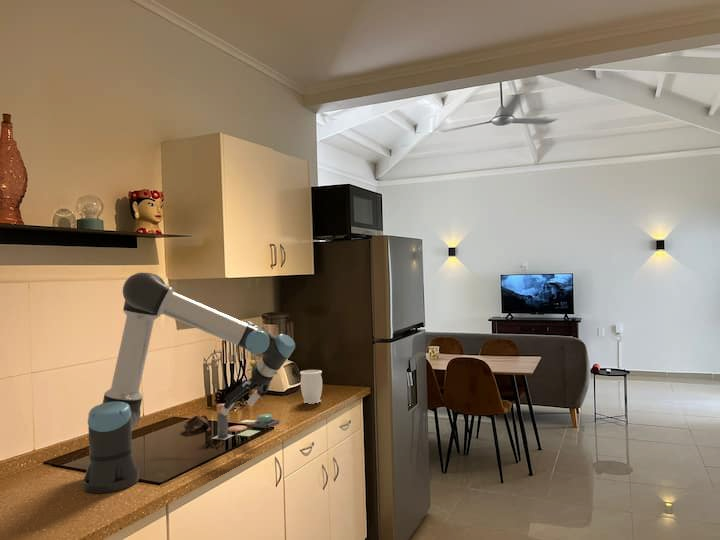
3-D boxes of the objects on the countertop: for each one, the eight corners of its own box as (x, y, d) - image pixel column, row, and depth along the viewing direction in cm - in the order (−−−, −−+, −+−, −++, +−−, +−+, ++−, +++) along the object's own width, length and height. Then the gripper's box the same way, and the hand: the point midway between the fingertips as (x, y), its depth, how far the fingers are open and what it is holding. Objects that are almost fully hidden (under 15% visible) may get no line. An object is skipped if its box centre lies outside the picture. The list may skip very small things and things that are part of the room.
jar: (297, 404, 256) (296, 372, 256) (307, 399, 265) (306, 369, 265) (316, 405, 251) (315, 373, 252) (326, 400, 261) (325, 369, 261)
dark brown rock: (209, 438, 207) (197, 421, 205) (189, 448, 208) (177, 431, 207) (218, 421, 219) (207, 405, 217) (199, 431, 220) (188, 416, 219)
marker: (226, 438, 199) (225, 405, 199) (216, 438, 199) (215, 406, 200) (229, 434, 203) (228, 403, 203) (219, 435, 203) (218, 403, 204)
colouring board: (238, 447, 192) (237, 440, 192) (198, 443, 199) (198, 436, 199) (281, 425, 218) (281, 419, 218) (245, 422, 226) (245, 416, 226)
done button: (267, 423, 212) (266, 418, 212) (254, 422, 215) (254, 417, 215) (275, 419, 218) (275, 414, 218) (263, 418, 220) (262, 413, 220)
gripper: (246, 384, 179) (216, 425, 187) (293, 372, 200) (264, 408, 208) (234, 368, 182) (205, 408, 190) (281, 357, 203) (253, 393, 211)
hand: (236, 408), depth 199 cm, fingers open, 13 cm apart
